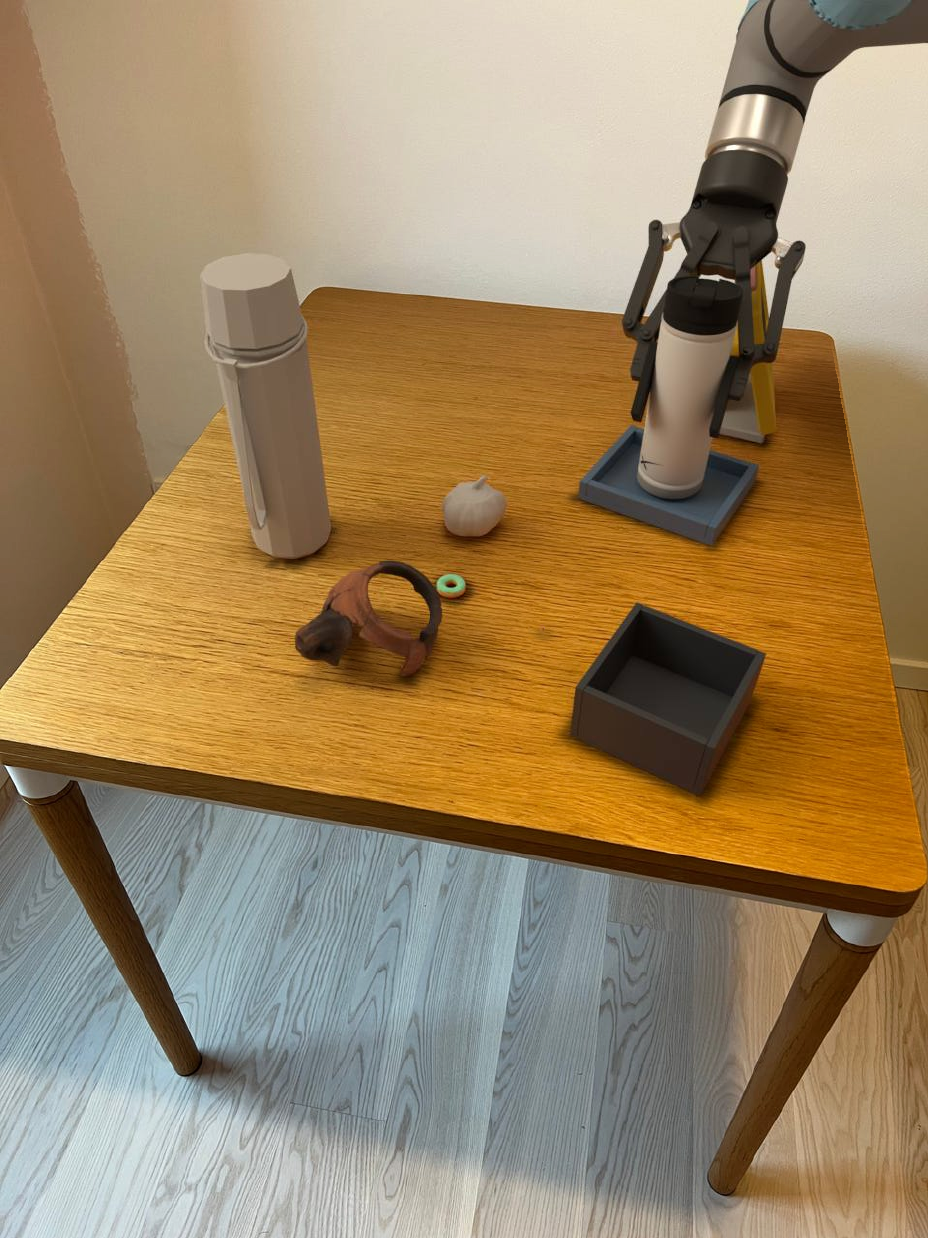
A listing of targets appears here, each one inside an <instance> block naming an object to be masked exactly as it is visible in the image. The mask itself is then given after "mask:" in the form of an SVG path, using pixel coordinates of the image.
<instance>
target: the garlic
mask: <svg viewBox="0 0 928 1238" xmlns="http://www.w3.org/2000/svg"><path fill="white" fill-rule="evenodd" d="M488 479H489V477H488V476H487V474H484V475H482V476H480V477H479V478H478V480H476V481H463V482H459V483H458V484H457V485H456V486H455V487H454V488H452V489H451V490H450V491H449V492H448V493H447V494H446V495H445V497H444V498H443V500H442V504H441V505H442V506H441V509H442V513H443V521H444V525H445V527H446V529H447V530H448V531H449V532H450V533H452V534H454V535H456V536H459V537H482V536H484V535H486V534H488V533H489V532H491V531H492V529H494V528H495V527H496V526H497V525H498V524H499V522H500V521H501V520H502V519H503V518H504V516H505V514H506V512H507V507H508V504H507V503H508V502H507V498H506V496H505V495H504V493H502V491H500V490H498V489H496V488H494V487H492V486H491V485H490V484H488V483H485V482H487V481H488Z"/></svg>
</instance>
